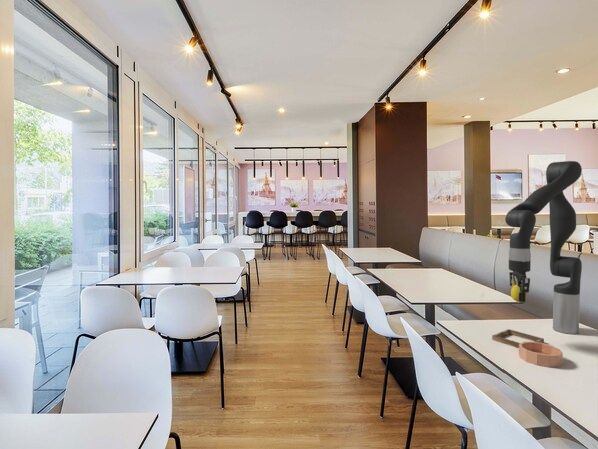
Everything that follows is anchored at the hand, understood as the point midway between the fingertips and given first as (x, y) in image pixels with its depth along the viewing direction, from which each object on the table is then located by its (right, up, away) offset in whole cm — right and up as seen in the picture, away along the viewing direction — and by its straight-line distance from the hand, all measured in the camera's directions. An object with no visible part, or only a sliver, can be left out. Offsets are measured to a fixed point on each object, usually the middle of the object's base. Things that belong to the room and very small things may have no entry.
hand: (518, 299), depth 140 cm
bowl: (-3, -18, -16) cm, 24 cm away
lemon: (0, -2, 0) cm, 2 cm away
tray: (0, -17, +1) cm, 17 cm away
